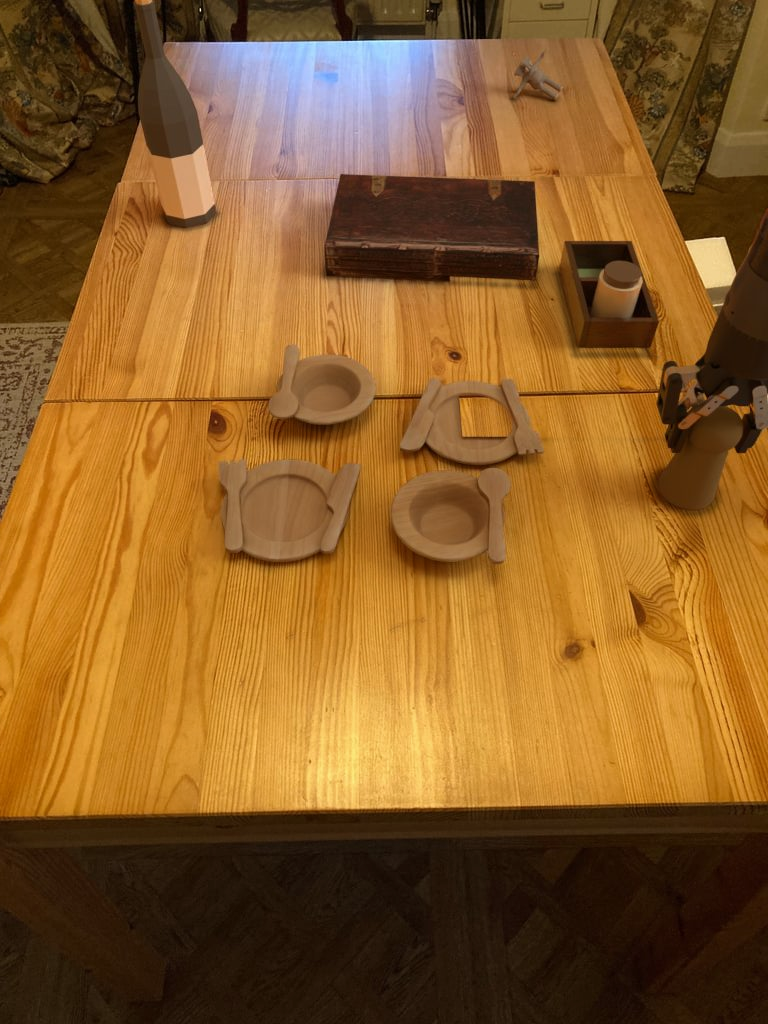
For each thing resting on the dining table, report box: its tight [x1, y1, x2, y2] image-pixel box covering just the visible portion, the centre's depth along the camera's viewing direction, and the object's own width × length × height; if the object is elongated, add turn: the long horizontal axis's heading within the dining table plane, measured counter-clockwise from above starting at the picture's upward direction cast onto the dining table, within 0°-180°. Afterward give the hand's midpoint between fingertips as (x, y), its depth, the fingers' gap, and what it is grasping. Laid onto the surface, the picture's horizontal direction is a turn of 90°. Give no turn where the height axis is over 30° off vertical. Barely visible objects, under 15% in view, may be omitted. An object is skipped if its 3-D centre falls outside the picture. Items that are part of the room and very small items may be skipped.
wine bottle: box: [133, 0, 216, 229], centre depth 106 cm, size 8×8×30 cm
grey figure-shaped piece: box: [512, 48, 564, 101], centre depth 141 cm, size 10×6×9 cm
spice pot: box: [589, 261, 643, 318], centre depth 96 cm, size 5×5×8 cm
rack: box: [559, 240, 660, 349], centre depth 101 cm, size 9×17×5 cm, turn 0°
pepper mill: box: [657, 406, 743, 511], centre depth 79 cm, size 6×6×11 cm
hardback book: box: [324, 173, 540, 282], centre depth 111 cm, size 29×19×5 cm, turn 85°
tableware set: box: [218, 344, 545, 565], centre depth 84 cm, size 35×29×4 cm
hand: (705, 446), depth 78 cm, fingers open, 6 cm apart
